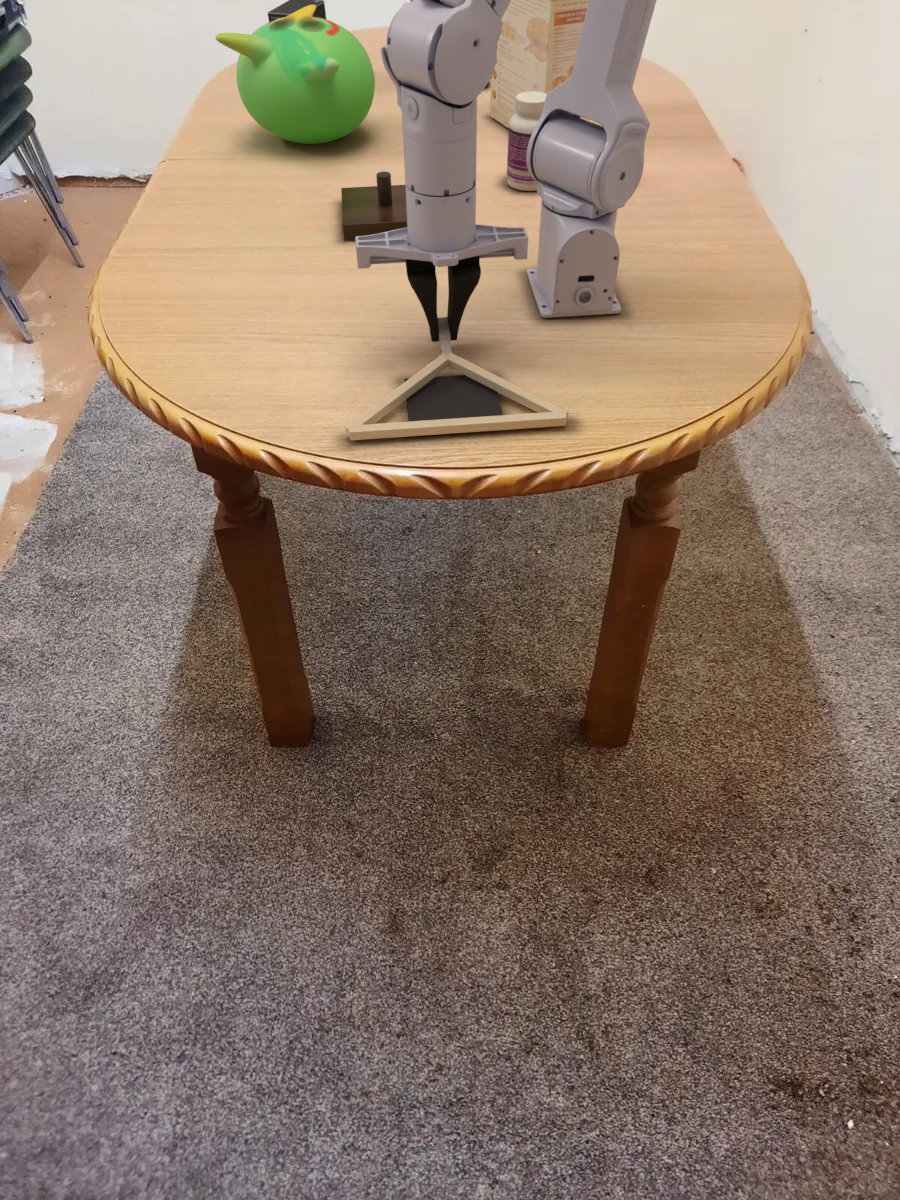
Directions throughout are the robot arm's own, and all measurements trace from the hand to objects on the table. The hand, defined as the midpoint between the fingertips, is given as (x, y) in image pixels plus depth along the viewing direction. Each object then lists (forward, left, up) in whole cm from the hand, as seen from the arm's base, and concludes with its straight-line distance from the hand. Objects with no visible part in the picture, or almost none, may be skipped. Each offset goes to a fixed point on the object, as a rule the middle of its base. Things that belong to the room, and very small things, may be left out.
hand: (443, 335), depth 76 cm
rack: (+29, +4, -1) cm, 29 cm away
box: (+77, +14, -2) cm, 78 cm away
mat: (-9, 0, -1) cm, 9 cm away
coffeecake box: (+55, -18, -2) cm, 57 cm away
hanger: (-6, 0, -1) cm, 6 cm away
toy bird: (+55, +13, -2) cm, 56 cm away
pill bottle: (+37, -14, -2) cm, 39 cm away
